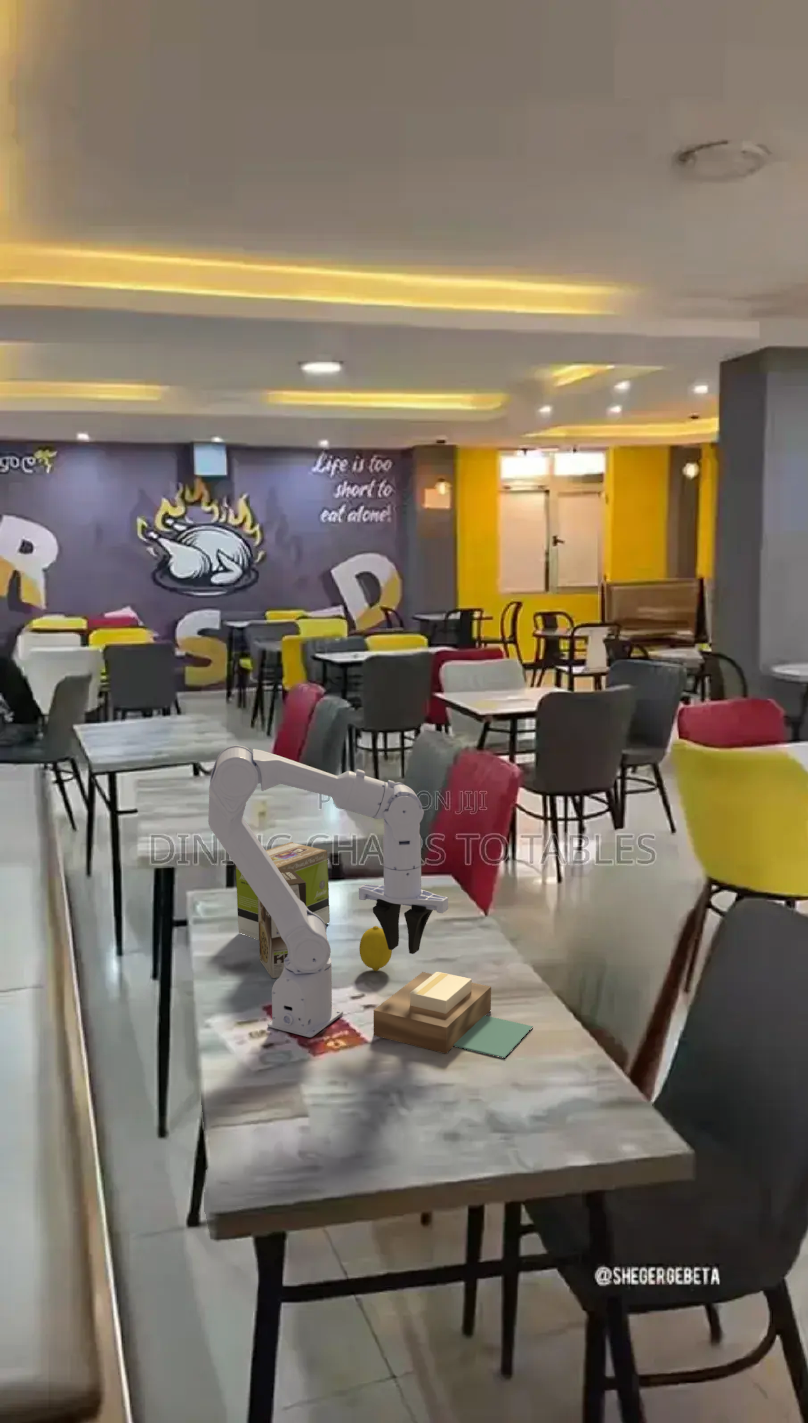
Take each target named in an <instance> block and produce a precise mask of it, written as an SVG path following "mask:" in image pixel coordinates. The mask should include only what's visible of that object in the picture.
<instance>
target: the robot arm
mask: <svg viewBox="0 0 808 1423" xmlns="http://www.w3.org/2000/svg"><path fill="white" fill-rule="evenodd" d="M258 784H260V790H261V791H262V792H264V791H266V790H268V789H271V788H274V787H277V786H278V785H284V786H288V787H290V788H291V787H292V788H296V789H299V790H304V791H307V792H310V793H311V792H312V793H315V794H320V795H323V796H328V797H331V798H332V800H333V802H334V805H335V806H336V807H337V808H338V809H341V810H344V811H348V812H352V813H355V814H358V815H363V816H366V817H368V818H371V819H374V820H378V819H379V820H380V819H382V820H383V835H382V854H383V858H382V859H383V860H382V861H383V862H382V863H383V885H381V884H380V885H379V884H366V883H365V884H363V885H361V886H359V887H358V900H360V901H366V900H370V901H371V900H372V901H375V902H376V903H375V905H374V906H373V907H372V914H374V916H375V917H376V919H377V921H378V923H379V924H380V928H382V929H383V932H384V935H385V938H386V941H387V945H388V949H389V950H392V951H393V950H395V949H396V948H397V947H398V946H399V943H400V926H399V924H400V912H401V907H402V906H405V907H406V906H407V907H411V908H410V909H408V910H406V911H404V913H403V914H404V916H403V917H404V918H405V923H406V927H407V933H408V934H407V941H408V948H407V949H408V953H409V954H411V955H414V954H416V953H417V952H418V951H420V947H421V941H422V937H423V933H424V931H425V927H426V926H427V923H428V920H429V919H430V916H431V915H432V913H433V911H436V913H438V914H443V913H446V912H447V911H448V910H449V897H447V896H443V895H439V894H435V893H433V892H431V891H427V890H425V889H422V854H421V853H422V847H421V846H422V845H421V844H422V841H421V838H422V837H421V834H420V830H421V825H420V823H421V822H422V820H423V818H424V815H425V810H424V809H423V804H422V802H421V800H420V798H419V797H418V796H417V794H416V792H415V791H414V790H413V789H412V788H411V787H409V786H408V785H406V784H404V783H403V782H395V780H392V779H391V780H390V779H388V780H387V782H386V781H384V780H381V779H377V778H374V777H370V776H367V775H366V771H365V770H362V769H359V768H357V769H355V772H354V771H352V770H347V771H345V772H343V773H341V774H339V775H338V774H337V775H336V774H332V773H330V772H328V771H327V772H326V771H324V770H321V769H319V768H315V767H313V766H309V765H307V764H304V763H301V762H298V761H295V760H293V759H289V758H287V757H283V756H281V755H277V754H274V753H271V752H268V751H266V750H262V749H257V748H253V749H252V750H250V749H249V748H248V747H247V746H244V745H237V744H236V745H234V744H233V745H230V746H227V747H226V748H224V749H222V750H221V751H220V753H218V755H217V757H216V759H215V761H214V765H213V767H212V770H211V772H210V782H209V786H208V793H209V794H208V820H207V821H208V826H209V828H210V830H211V831H212V833H213V834H214V836H215V837H216V838H217V840H218V842H219V843H220V845H221V846H222V848H223V849H224V851H225V852H226V853H227V855H228V856H229V857H230V859H231V860H232V862H233V863H234V865H235V867H236V866H237V868H238V869H239V871H240V872H241V874H242V875H243V876H244V878H245V879H246V881H247V882H248V884H249V885H250V887H251V888H252V890H253V891H254V892H255V894H256V895H257V897H258V898H259V900H260V901H261V903H262V904H263V906H264V907H265V908H266V910H267V911H268V913H269V914H270V916H271V917H272V919H273V920H274V922H275V924H276V926H277V929H278V931H279V933H280V935H281V938H282V939H283V941H284V942H285V944H286V946H287V949H288V955H287V957H286V958H285V959H284V969H283V972H282V974H281V976H280V977H278V978H276V980H275V981H274V983H273V985H272V988H271V1017H272V1018H271V1019H272V1020H271V1021H269V1022H268V1023H267V1027H268V1028H272V1029H275V1030H279V1031H283V1032H286V1033H291V1034H295V1035H299V1036H303V1037H307V1038H313V1037H314V1036H315V1035H317V1034H318V1033H320V1032H321V1031H322V1030H323V1029H324V1028H326V1027H328V1026H329V1025H330V1024H332V1023H333V1022H334V1021H335V1020H337V1019H338V1018H340V1017H341V1016H342V1015H344V1011H343V1010H342V1009H337V1008H333V995H332V994H333V989H332V988H333V985H332V984H333V981H332V980H333V978H332V974H333V973H332V972H333V968H332V963H333V962H332V957H331V952H332V951H331V950H332V949H331V945H330V943H329V940H328V936H327V926H326V925H327V924H325V923H324V921H323V920H322V918H321V917H319V916H318V915H316V914H314V913H312V912H311V911H310V910H309V909H308V908H307V907H306V906H305V904H304V903H303V902H302V901H301V900H300V899H298V898H297V896H296V895H295V893H294V892H293V890H292V889H291V887H290V886H289V884H288V883H287V881H286V880H285V879H284V877H283V876H282V874H281V873H280V871H279V870H278V868H277V867H276V865H275V864H274V862H273V861H272V859H271V858H270V856H269V855H268V853H267V852H266V850H267V849H265V848H264V846H263V845H262V843H261V841H259V838H258V837H257V836H256V834H255V832H254V831H253V830H252V828H251V827H250V825H249V824H248V823H247V821H246V820H245V818H244V814H245V810H246V806H247V802H248V801H249V800H250V798H251V796H253V793H254V792H255V790H256V789H257V787H258Z"/></svg>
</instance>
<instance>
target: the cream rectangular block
mask: <svg viewBox="0 0 808 1423" xmlns="http://www.w3.org/2000/svg"><path fill="white" fill-rule="evenodd" d="M432 974H433V975H432V976H430V977H429V978H428V979H427V980H425V981H424V982H423V983H422V984H420V985H419V986H418V987H417V988H415V989H414V990H413V991H412V992H410V1005H411V1006H415V1007H419V1008H424V1009H428V1010H432V1011H436V1012H441V1013H445V1014H446V1013H447V1012H449V1011H450V1010H451V1009H452V1008H453V1007H454V1006H455V1005H457V1004H458V1003H459V1002H460V1001H461V1000H462V999H463V998H464V997H466V996H467V995H468V994H469V993H470V992H471V991H472V983H473V982H472V980H473V979H472V978H470V977H464V976H460V975H455V974H451V973H446V972H441V971H435V972H434V973H432Z"/></svg>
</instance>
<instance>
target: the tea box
mask: <svg viewBox="0 0 808 1423" xmlns="http://www.w3.org/2000/svg"><path fill="white" fill-rule="evenodd" d="M265 850H266V852H267V853H268V855H269V856H270V858H271V859H272V861H273V862H274V864H275V865H276V867H277V868H278V870H280V869H289V868H291V869H292V870H293V871H295V872H296V873H297V874H298V875H299V876H300V877H301V878H302V879H303V880H304V881H305V882H306V907H307V908H308V909H309V910H310V911H311V912H312V913H314V914H316V915H318V916H319V917H321V918H322V920H323V921H324V923H325V925H327V924H328V923H330V921H331V920H330V919H331V918H330V917H331V916H330V914H331V913H330V888H329V885H330V884H329V865H328V862H329V861H328V860H329V859H328V858H329V857H328V849H327V850H326V849H323V848H322V849H321V848H318V847H313V846H308V845H304V844H300V843H295V842H293V841H291V842H288V843H284V844H281V845H277V846H274V847H272V848H268V849H265ZM235 878H236V880H235V881H236V882H235V883H236V903H237V904H236V907H237V926H238V933H239V934H240V933H242V934H245V935H247V936H250V937H252V938H251V939H253V938H255V939H254V940H256V939H257V941H259V921H258V897H257V895H256V894H255V892H254V891H253V890H252V888H251V887H250V885H249V884H248V882H247V881H246V879H245V878H244V876H243V875H242V874H241V872H240V871H239V869H238V868H237V866H236V865H235ZM242 934H241V935H242ZM245 935H244V936H245ZM247 936H246V937H247ZM250 937H249V938H250Z"/></svg>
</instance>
